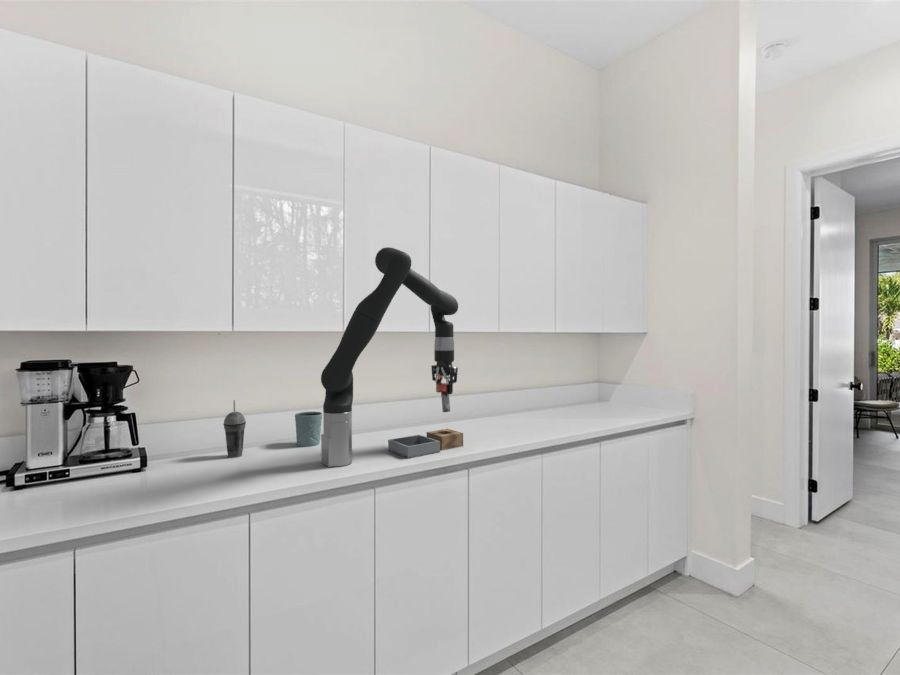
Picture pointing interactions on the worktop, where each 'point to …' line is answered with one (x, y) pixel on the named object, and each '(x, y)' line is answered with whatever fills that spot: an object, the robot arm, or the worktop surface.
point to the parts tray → (413, 446)
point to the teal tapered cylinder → (308, 428)
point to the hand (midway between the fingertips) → (444, 393)
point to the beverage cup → (234, 433)
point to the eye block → (447, 438)
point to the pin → (444, 396)
